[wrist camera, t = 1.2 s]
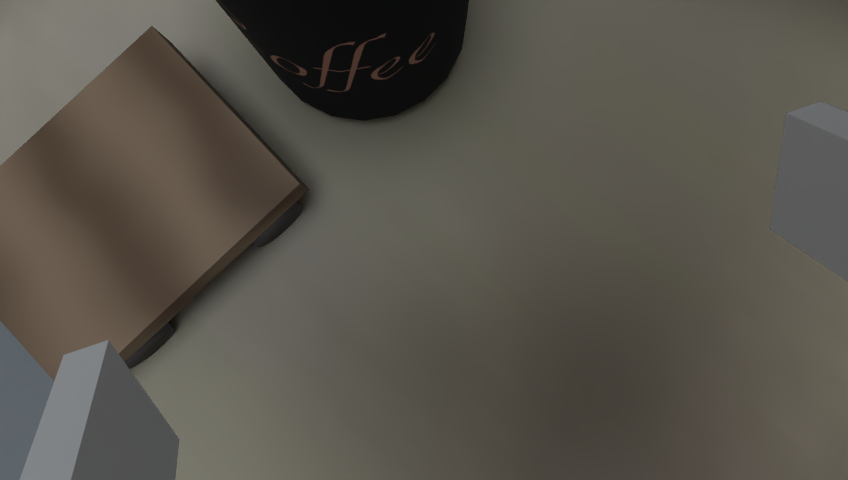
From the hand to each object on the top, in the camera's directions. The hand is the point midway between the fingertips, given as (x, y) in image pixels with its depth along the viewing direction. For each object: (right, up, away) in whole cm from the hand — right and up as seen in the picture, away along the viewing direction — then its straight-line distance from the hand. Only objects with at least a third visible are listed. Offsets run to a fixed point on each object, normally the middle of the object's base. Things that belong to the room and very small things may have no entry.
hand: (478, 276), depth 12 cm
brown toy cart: (-15, +2, +21) cm, 26 cm away
